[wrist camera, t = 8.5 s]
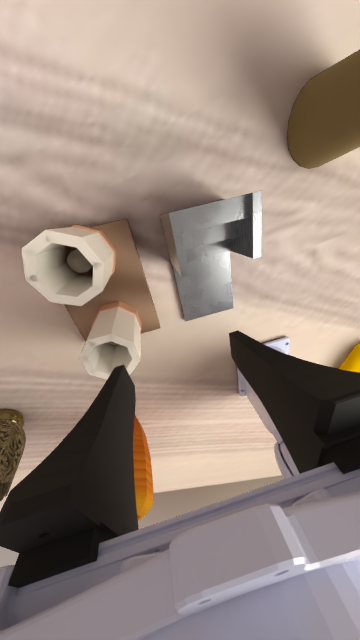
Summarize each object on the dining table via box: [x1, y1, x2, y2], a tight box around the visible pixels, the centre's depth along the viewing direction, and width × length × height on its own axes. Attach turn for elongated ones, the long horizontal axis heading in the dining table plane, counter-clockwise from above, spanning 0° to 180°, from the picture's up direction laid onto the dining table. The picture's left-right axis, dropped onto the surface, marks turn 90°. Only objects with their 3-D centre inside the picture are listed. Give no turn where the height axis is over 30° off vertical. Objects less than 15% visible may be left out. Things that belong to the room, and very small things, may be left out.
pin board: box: [64, 219, 160, 346], centre depth 17 cm, size 11×8×4 cm
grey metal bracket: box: [160, 191, 262, 321], centre depth 17 cm, size 11×6×6 cm, turn 12°
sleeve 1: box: [21, 225, 117, 306], centre depth 14 cm, size 4×4×6 cm
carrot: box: [133, 417, 154, 520], centre depth 22 cm, size 5×5×15 cm
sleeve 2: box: [79, 301, 142, 380], centre depth 17 cm, size 4×4×6 cm
